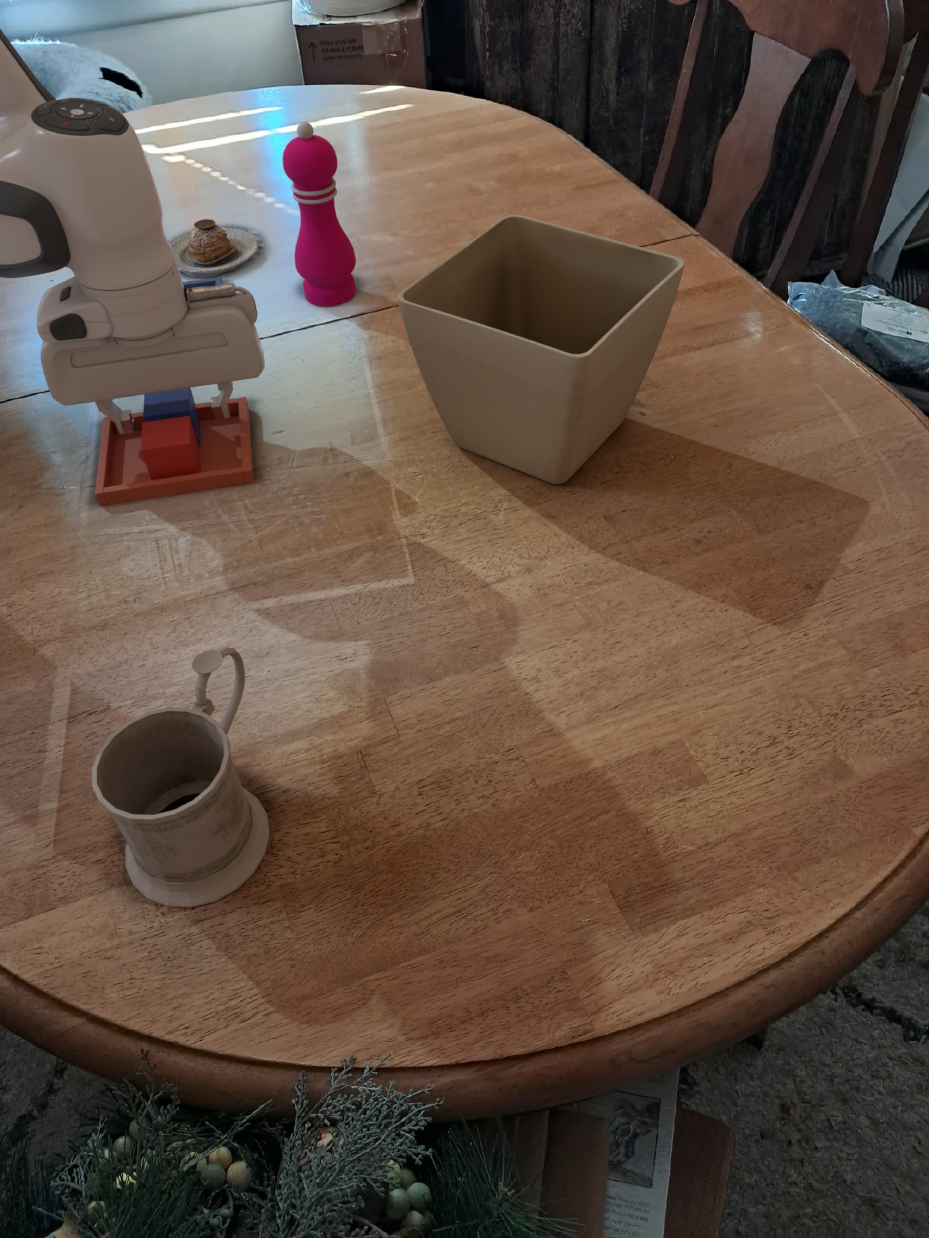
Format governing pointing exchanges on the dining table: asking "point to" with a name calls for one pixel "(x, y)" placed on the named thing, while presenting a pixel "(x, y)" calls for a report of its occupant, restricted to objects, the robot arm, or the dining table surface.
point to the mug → (173, 768)
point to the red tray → (220, 467)
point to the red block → (170, 448)
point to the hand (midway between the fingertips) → (175, 423)
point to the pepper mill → (319, 221)
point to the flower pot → (538, 340)
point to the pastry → (213, 250)
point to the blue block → (172, 407)
